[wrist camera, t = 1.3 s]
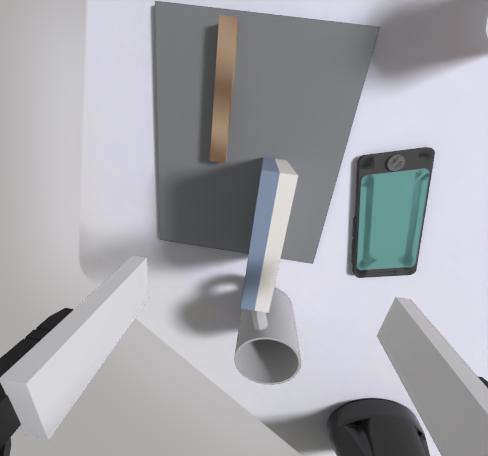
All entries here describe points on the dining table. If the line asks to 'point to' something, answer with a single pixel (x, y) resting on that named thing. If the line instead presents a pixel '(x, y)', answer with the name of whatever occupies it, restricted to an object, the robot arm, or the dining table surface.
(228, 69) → the strip
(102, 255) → the dining table surface
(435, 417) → the robot arm
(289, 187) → the blue-grey flat block
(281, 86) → the mat
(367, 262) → the smartphone
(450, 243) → the dining table surface
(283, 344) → the cup
